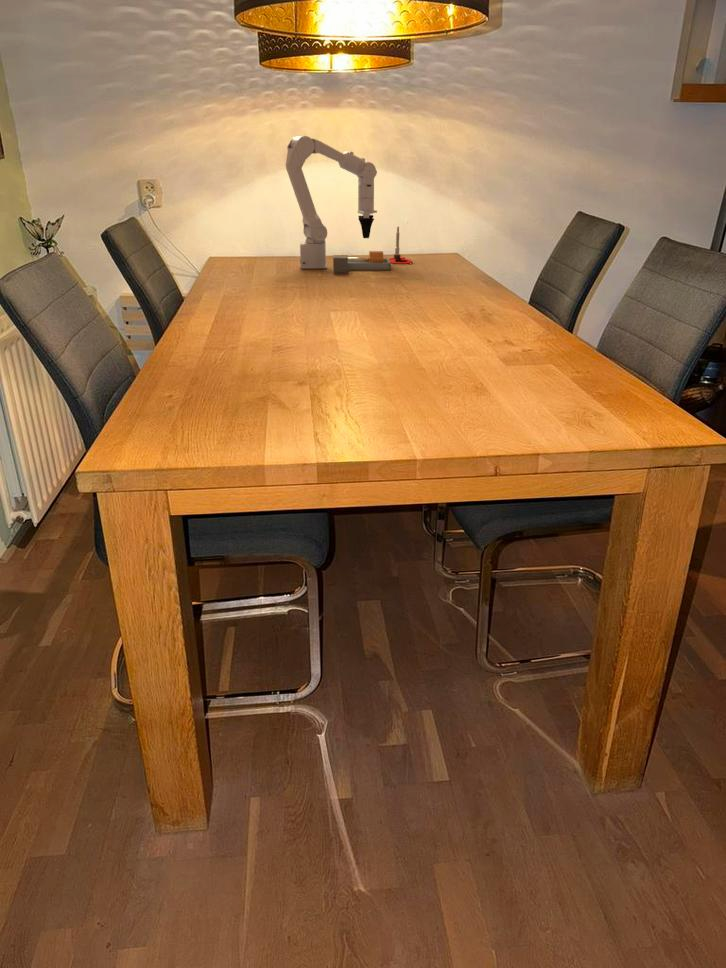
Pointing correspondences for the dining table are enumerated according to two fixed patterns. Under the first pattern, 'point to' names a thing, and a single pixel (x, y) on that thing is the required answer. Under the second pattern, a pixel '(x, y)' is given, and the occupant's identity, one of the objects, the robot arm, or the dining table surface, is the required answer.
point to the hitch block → (340, 264)
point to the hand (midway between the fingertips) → (365, 236)
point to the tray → (370, 265)
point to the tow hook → (396, 255)
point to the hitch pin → (368, 258)
